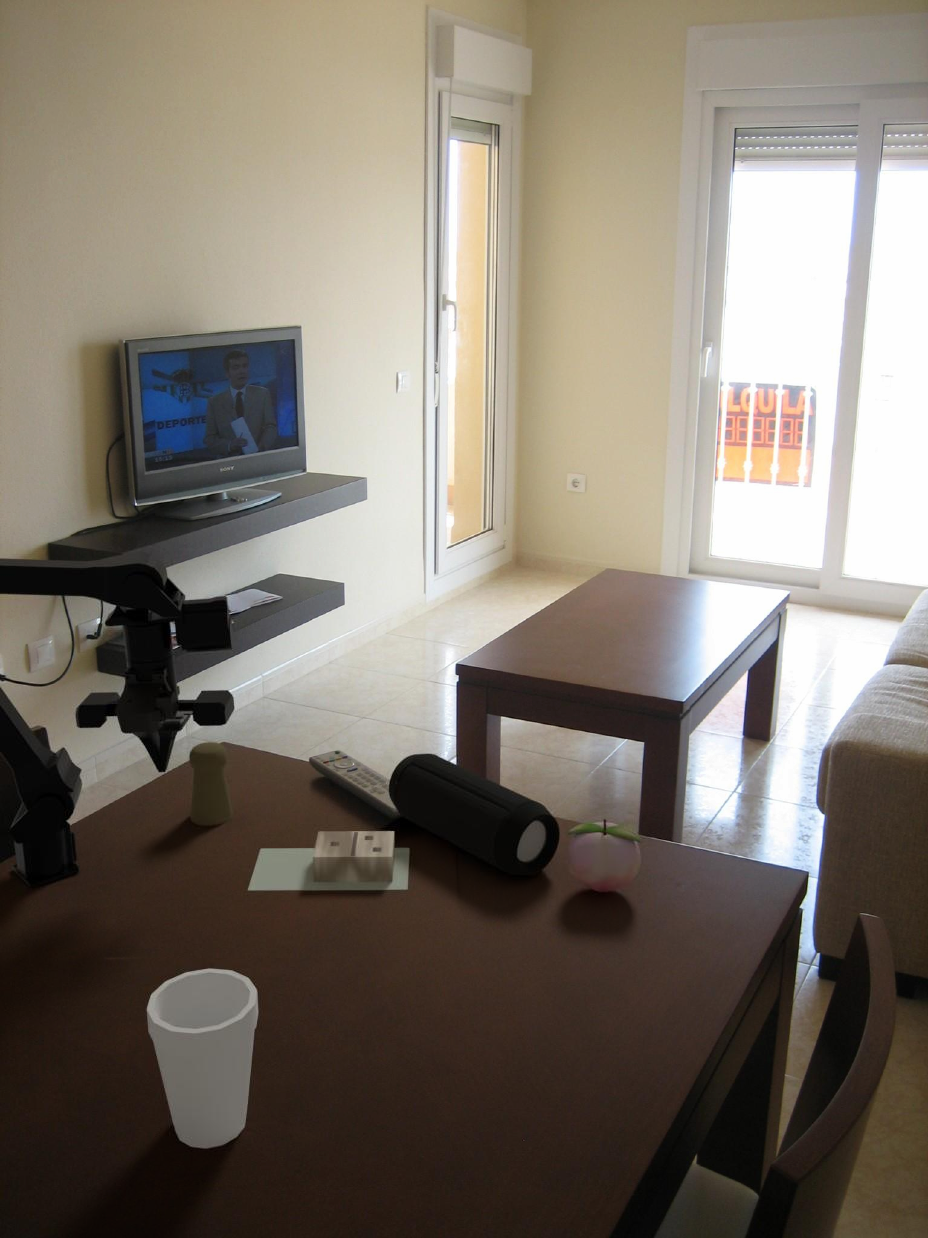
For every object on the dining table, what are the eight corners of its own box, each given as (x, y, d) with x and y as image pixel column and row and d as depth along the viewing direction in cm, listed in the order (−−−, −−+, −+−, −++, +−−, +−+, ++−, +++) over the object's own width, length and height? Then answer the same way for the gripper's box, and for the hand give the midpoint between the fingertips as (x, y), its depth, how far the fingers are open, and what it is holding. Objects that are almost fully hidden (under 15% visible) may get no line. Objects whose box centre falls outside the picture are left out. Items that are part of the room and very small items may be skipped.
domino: (312, 857, 145) (392, 856, 145) (318, 831, 151) (394, 831, 152) (313, 882, 146) (392, 881, 146) (319, 855, 152) (394, 855, 153)
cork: (223, 828, 160) (219, 755, 157) (183, 824, 161) (178, 752, 158) (240, 810, 166) (236, 739, 163) (200, 806, 167) (196, 735, 164)
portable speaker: (563, 868, 150) (565, 798, 148) (508, 893, 144) (510, 821, 141) (436, 803, 169) (436, 740, 166) (383, 823, 162) (382, 758, 159)
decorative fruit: (637, 876, 148) (641, 805, 145) (640, 909, 140) (645, 835, 138) (564, 872, 149) (567, 802, 146) (563, 905, 141) (566, 831, 138)
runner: (247, 891, 144) (247, 890, 144) (260, 850, 154) (260, 848, 154) (407, 891, 144) (407, 889, 144) (409, 849, 155) (409, 848, 155)
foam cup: (167, 1090, 108) (158, 970, 105) (266, 1085, 109) (260, 966, 106) (149, 1165, 99) (138, 1036, 96) (257, 1158, 100) (251, 1031, 97)
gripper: (52, 679, 135) (68, 800, 140) (209, 676, 135) (221, 797, 139) (83, 649, 146) (98, 762, 150) (230, 646, 145) (240, 760, 150)
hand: (162, 771), depth 147 cm, fingers closed
